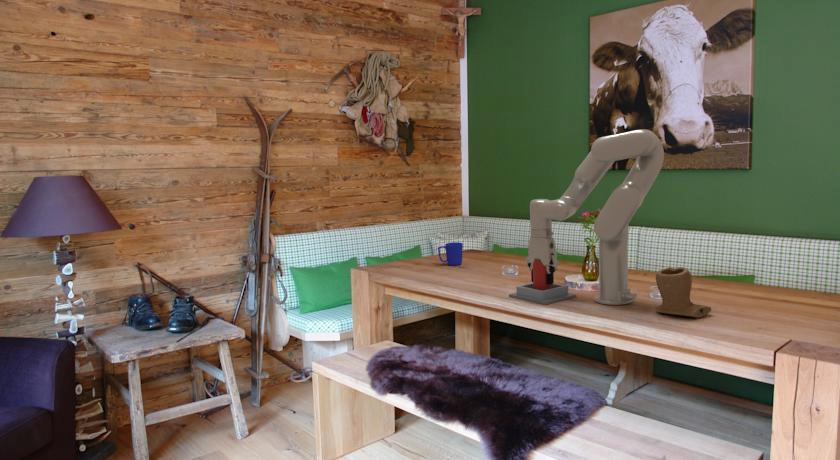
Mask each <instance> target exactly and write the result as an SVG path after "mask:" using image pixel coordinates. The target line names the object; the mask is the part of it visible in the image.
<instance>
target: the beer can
mask: <svg viewBox="0 0 840 460" xmlns="http://www.w3.org/2000/svg"><path fill="white" fill-rule="evenodd" d="M549 264H550V263H549ZM549 268H550V266H549ZM546 274H547V270H546V267H545V266H544V265H543V263H542V262H541V260H540V259H534V262H533V282H532V283H533V289H536V290H541V291H544V290H548V289H552V284H550V285H547V284H546Z"/></svg>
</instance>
